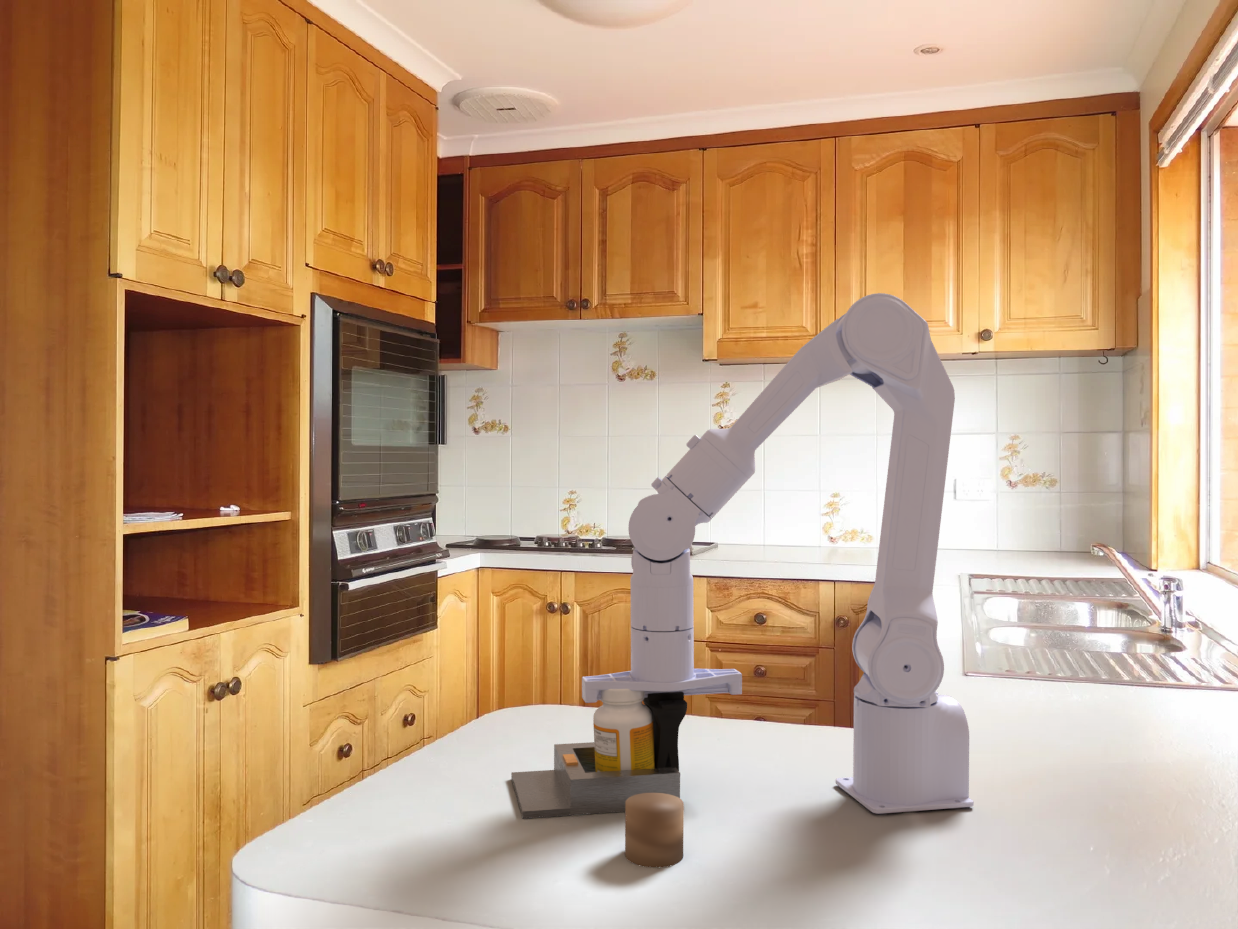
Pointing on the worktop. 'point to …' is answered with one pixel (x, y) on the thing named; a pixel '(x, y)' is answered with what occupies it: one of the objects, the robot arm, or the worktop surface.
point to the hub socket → (586, 785)
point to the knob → (654, 829)
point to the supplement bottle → (623, 732)
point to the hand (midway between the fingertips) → (662, 776)
